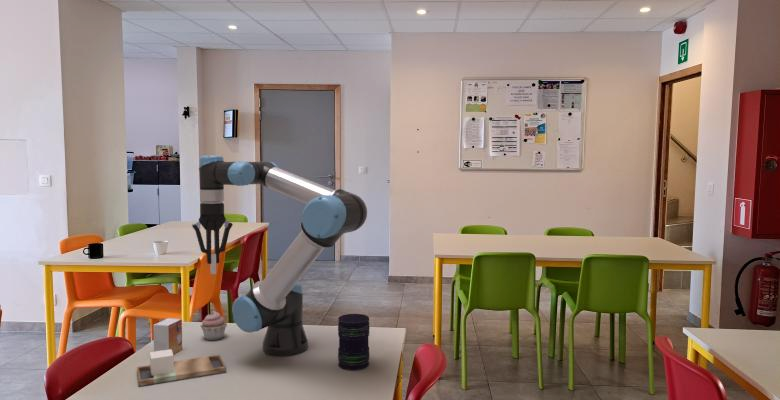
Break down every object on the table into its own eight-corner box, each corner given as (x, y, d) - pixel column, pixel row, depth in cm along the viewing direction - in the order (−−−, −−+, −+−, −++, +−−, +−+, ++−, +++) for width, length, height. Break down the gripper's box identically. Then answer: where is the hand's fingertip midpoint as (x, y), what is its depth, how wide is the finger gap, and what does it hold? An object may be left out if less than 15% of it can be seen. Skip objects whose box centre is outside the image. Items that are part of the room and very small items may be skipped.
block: (171, 365, 166) (171, 349, 166) (173, 372, 161) (173, 355, 161) (150, 368, 164) (149, 352, 163) (151, 375, 158) (151, 358, 158)
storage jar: (353, 373, 165) (353, 324, 164) (331, 365, 172) (331, 318, 171) (376, 364, 172) (376, 317, 171) (354, 356, 179) (354, 311, 178)
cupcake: (195, 337, 197) (195, 310, 197) (220, 332, 204) (219, 305, 203) (207, 344, 190) (206, 315, 190) (232, 338, 197) (231, 311, 196)
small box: (168, 357, 177) (168, 325, 177) (153, 356, 178) (152, 324, 178) (182, 349, 185) (182, 318, 184) (168, 348, 186) (167, 317, 186)
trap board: (219, 359, 176) (219, 354, 176) (226, 372, 165) (226, 367, 165) (137, 372, 165) (137, 367, 165) (138, 386, 154) (138, 381, 154)
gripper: (230, 201, 186) (231, 269, 188) (189, 202, 180) (191, 272, 182) (234, 202, 180) (235, 273, 181) (192, 203, 174) (194, 277, 175)
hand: (213, 273), depth 182 cm, fingers closed
